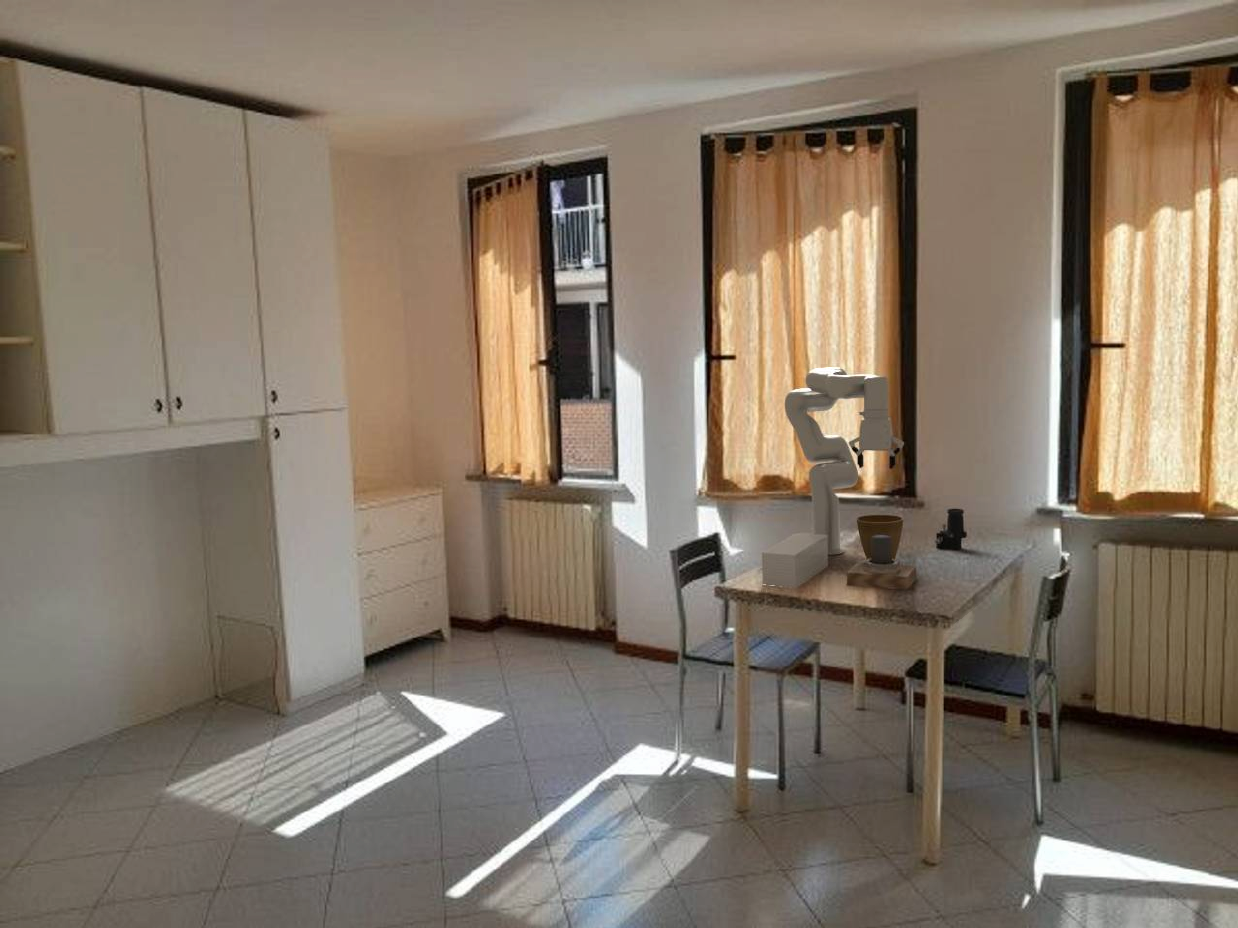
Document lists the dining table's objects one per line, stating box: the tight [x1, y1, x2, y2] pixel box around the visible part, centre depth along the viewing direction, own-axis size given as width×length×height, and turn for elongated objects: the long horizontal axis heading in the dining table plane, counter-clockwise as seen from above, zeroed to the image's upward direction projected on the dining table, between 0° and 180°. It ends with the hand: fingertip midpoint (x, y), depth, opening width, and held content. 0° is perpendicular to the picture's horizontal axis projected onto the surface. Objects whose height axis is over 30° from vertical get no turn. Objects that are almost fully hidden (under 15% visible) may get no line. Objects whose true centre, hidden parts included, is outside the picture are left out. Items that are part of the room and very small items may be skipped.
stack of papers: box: [761, 532, 829, 589], centre depth 311 cm, size 32×11×11 cm, turn 150°
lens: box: [871, 535, 892, 565], centre depth 298 cm, size 6×6×10 cm
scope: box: [934, 508, 968, 551], centre depth 340 cm, size 8×14×10 cm
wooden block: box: [846, 558, 917, 591], centre depth 298 cm, size 18×14×6 cm
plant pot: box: [856, 514, 904, 560], centre depth 319 cm, size 15×15×16 cm
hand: (876, 467), depth 311 cm, fingers open, 9 cm apart
